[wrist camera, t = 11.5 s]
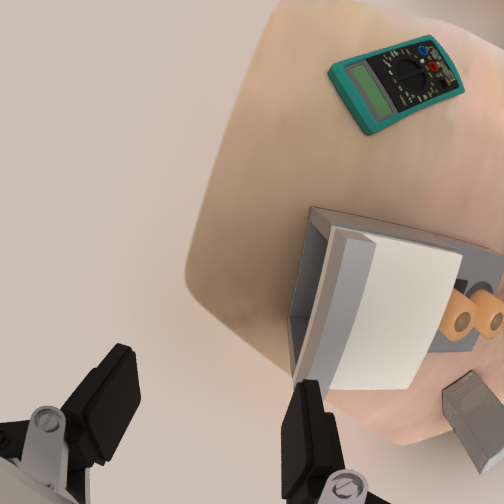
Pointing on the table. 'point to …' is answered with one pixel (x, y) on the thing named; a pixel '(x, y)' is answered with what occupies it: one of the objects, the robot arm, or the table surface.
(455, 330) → the peg
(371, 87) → the digital multimeter
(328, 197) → the table surface
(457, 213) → the table surface
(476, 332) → the housing
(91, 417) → the robot arm
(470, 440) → the skincare box
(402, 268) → the lid
